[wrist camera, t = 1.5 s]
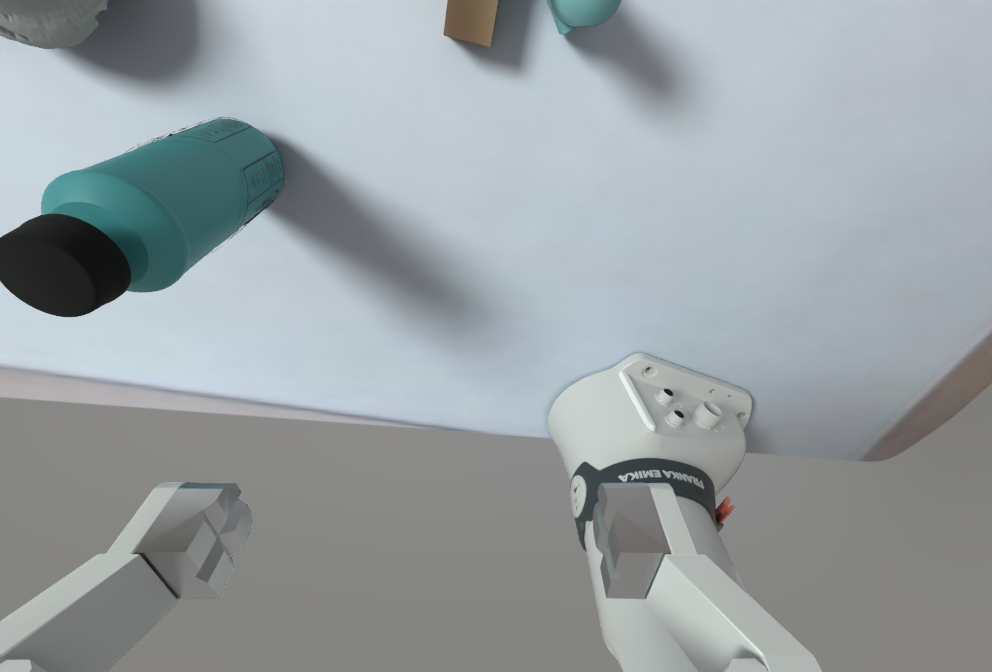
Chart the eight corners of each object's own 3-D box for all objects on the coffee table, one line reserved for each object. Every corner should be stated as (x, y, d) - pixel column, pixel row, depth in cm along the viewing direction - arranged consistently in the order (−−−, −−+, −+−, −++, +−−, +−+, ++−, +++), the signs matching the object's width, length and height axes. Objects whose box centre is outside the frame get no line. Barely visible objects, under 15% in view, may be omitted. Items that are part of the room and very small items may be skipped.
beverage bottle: (221, 92, 32) (-63, 160, 15) (309, 149, 34) (145, 263, 18) (194, 168, 35) (-68, 295, 18) (278, 217, 37) (112, 368, 21)
